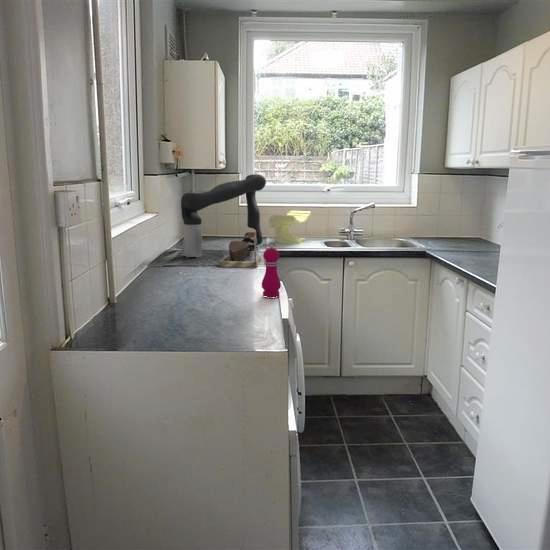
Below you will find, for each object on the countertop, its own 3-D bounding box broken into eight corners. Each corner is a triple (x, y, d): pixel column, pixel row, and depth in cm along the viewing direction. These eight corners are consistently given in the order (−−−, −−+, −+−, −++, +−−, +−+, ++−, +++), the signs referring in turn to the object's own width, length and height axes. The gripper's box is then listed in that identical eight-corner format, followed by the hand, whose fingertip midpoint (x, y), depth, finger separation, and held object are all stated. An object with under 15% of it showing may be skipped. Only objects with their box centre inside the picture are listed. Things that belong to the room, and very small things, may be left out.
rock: (238, 256, 248) (223, 243, 250) (232, 270, 254) (217, 258, 257) (253, 246, 257) (238, 234, 259) (246, 260, 264) (232, 248, 266)
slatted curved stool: (287, 237, 338) (287, 210, 334) (310, 239, 332) (311, 211, 328) (269, 244, 311) (269, 214, 307) (293, 246, 305) (293, 216, 301)
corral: (219, 266, 247) (218, 232, 243) (226, 260, 263) (225, 227, 259) (256, 267, 245) (256, 233, 242) (261, 260, 261) (261, 228, 258)
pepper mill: (269, 292, 200) (270, 242, 196) (284, 296, 196) (285, 244, 191) (257, 296, 195) (257, 244, 190) (272, 299, 190) (272, 246, 186)
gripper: (236, 236, 277) (231, 240, 260) (261, 236, 276) (257, 241, 259) (236, 249, 279) (231, 255, 262) (261, 250, 277) (257, 256, 261)
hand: (244, 248), depth 260 cm, fingers closed
